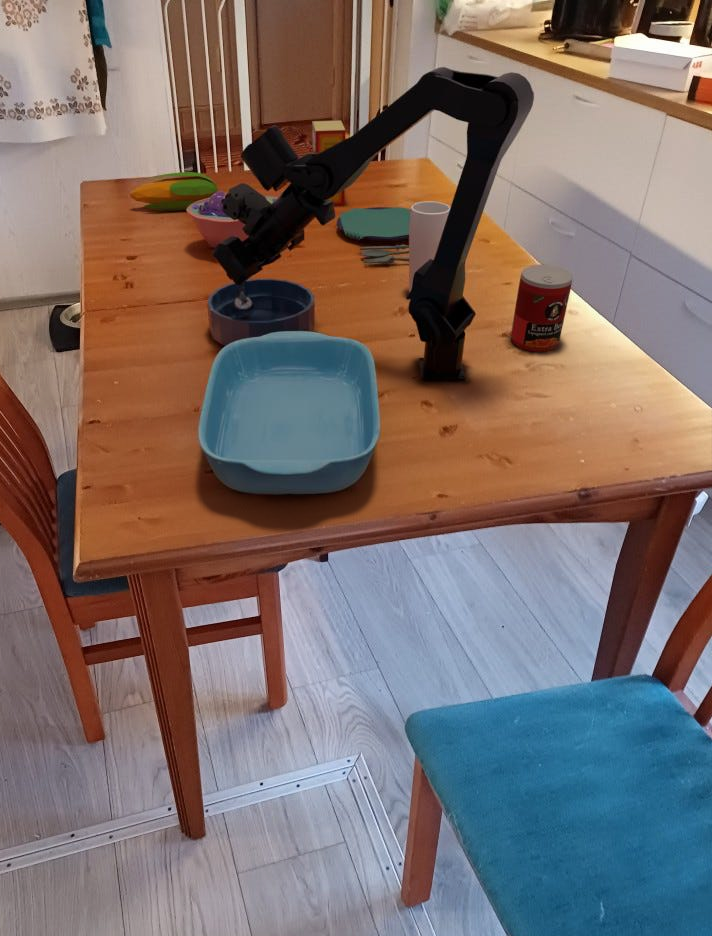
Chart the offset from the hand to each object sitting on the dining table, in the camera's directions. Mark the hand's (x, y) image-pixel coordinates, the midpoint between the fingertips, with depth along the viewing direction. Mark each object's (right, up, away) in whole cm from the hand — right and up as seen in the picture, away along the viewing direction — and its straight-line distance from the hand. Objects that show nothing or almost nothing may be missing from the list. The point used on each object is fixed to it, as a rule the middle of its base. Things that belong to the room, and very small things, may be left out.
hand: (231, 274), depth 126 cm
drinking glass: (+33, +1, +14) cm, 36 cm away
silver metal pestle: (+2, -6, +4) cm, 7 cm away
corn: (-18, +33, +52) cm, 64 cm away
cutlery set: (+29, +19, +35) cm, 49 cm away
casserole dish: (+10, -29, -22) cm, 38 cm away
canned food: (+49, -11, -1) cm, 50 cm away
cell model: (-1, +17, +33) cm, 37 cm away
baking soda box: (+17, +37, +56) cm, 69 cm away
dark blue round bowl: (+5, -8, +3) cm, 10 cm away
